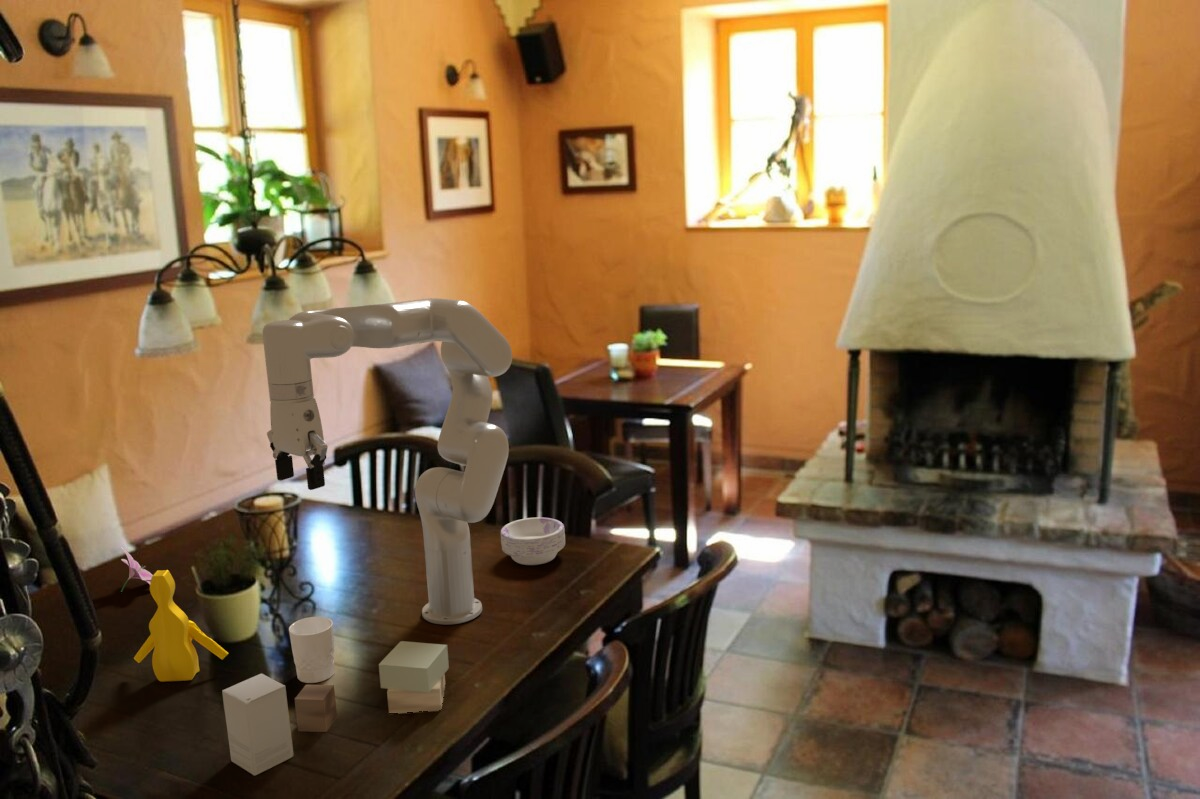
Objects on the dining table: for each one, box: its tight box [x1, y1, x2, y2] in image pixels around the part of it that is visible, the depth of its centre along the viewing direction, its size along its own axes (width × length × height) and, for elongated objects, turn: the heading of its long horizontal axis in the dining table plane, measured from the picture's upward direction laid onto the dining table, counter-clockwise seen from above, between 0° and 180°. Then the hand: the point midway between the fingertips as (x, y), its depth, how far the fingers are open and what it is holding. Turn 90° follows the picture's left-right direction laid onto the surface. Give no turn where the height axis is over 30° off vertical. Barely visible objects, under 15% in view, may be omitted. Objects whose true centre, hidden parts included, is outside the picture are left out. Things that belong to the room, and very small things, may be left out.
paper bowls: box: [500, 516, 566, 566], centre depth 248 cm, size 15×15×8 cm
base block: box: [386, 672, 446, 714], centre depth 185 cm, size 9×9×4 cm
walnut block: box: [294, 684, 338, 733], centre depth 178 cm, size 5×5×6 cm
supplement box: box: [222, 673, 294, 776], centre depth 167 cm, size 7×7×13 cm
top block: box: [378, 640, 450, 693], centre depth 184 cm, size 9×9×4 cm
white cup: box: [288, 616, 335, 684], centre depth 195 cm, size 8×8×10 cm
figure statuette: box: [133, 569, 229, 682], centre depth 194 cm, size 18×8×22 cm, turn 91°
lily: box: [120, 546, 154, 593], centre depth 238 cm, size 12×12×10 cm
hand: (301, 483), depth 188 cm, fingers open, 9 cm apart
